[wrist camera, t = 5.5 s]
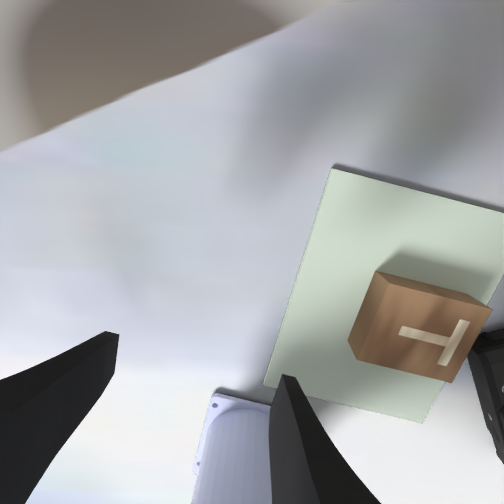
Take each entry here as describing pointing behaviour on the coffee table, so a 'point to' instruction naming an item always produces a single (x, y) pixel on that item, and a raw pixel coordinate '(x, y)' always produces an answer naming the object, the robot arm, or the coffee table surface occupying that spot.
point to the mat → (358, 280)
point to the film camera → (490, 382)
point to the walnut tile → (416, 327)
